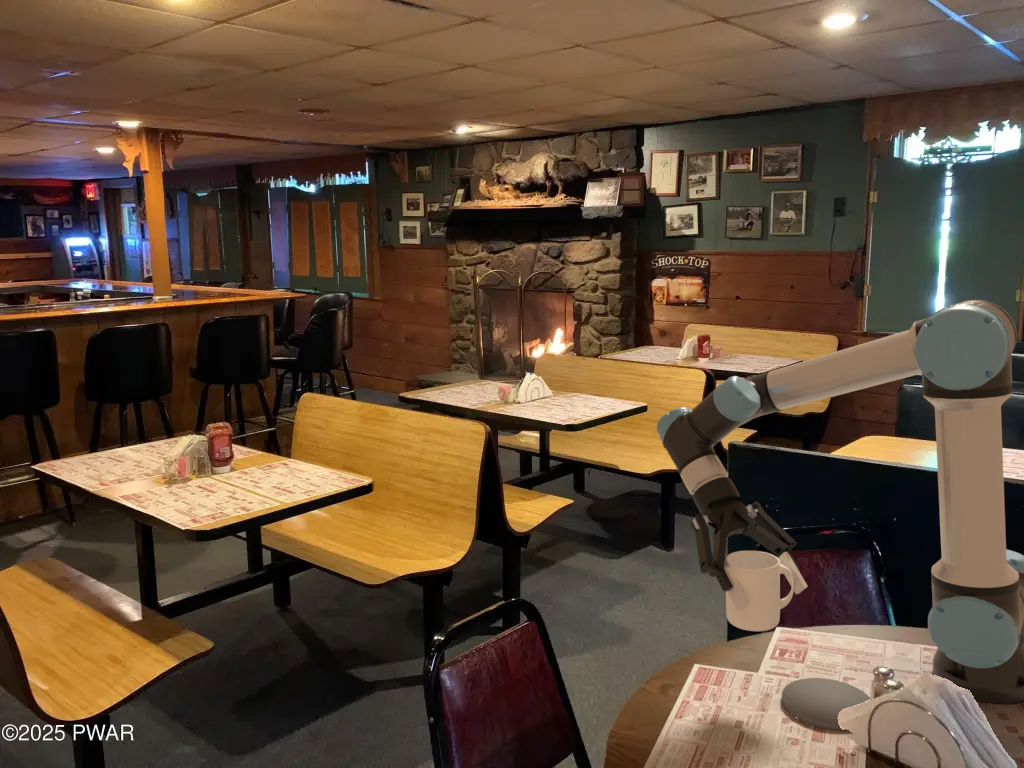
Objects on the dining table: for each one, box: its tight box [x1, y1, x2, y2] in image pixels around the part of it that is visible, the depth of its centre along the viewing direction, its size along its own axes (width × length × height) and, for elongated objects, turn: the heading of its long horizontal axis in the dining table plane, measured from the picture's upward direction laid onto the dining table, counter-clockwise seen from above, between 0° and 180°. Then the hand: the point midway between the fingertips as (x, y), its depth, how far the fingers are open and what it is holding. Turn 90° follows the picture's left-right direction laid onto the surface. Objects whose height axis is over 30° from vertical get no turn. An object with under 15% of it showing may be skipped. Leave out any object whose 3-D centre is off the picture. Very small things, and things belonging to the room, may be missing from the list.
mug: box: [724, 550, 795, 632], centre depth 134 cm, size 9×12×11 cm
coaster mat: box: [781, 677, 872, 732], centre depth 131 cm, size 14×14×1 cm
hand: (773, 598), depth 132 cm, fingers closed on mug, 12 cm apart
